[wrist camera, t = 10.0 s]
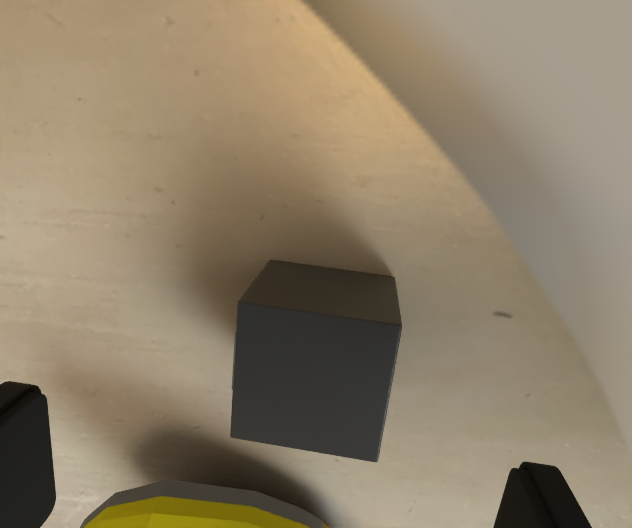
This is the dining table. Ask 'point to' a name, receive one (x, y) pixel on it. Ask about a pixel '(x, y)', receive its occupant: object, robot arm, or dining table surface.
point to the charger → (315, 359)
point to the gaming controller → (197, 509)
